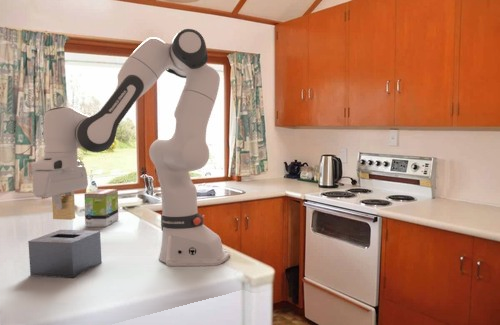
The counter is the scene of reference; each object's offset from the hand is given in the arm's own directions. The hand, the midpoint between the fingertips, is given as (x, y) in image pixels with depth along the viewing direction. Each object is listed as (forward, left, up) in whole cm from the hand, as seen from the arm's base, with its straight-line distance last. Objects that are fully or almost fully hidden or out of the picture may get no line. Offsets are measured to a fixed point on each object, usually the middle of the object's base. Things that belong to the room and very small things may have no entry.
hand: (63, 208), depth 123 cm
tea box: (+25, -59, -19) cm, 67 cm away
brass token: (0, 0, -3) cm, 3 cm away
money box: (0, 0, -18) cm, 18 cm away
